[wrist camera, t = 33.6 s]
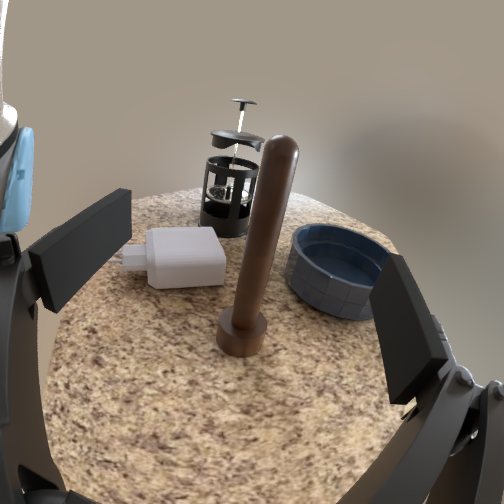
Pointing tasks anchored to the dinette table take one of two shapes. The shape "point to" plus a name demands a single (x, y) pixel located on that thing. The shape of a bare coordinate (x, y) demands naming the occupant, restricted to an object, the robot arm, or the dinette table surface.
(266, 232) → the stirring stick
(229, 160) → the french press
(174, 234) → the charger
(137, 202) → the dinette table surface
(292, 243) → the bowl
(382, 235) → the dinette table surface
